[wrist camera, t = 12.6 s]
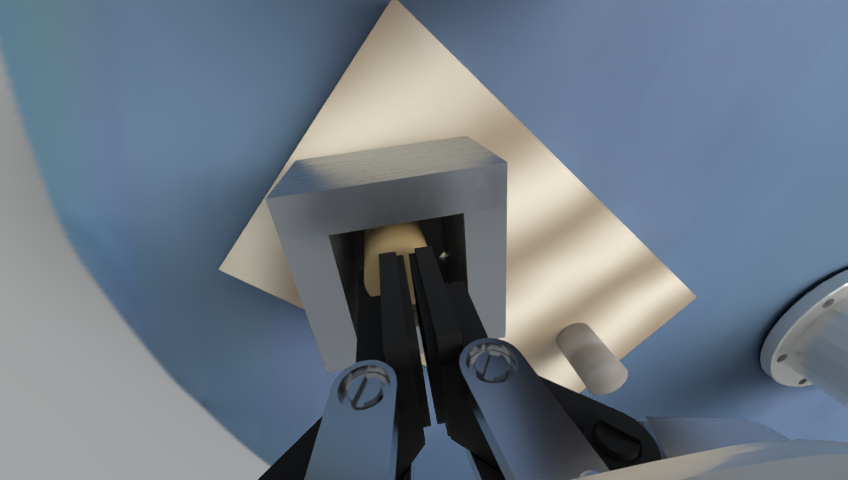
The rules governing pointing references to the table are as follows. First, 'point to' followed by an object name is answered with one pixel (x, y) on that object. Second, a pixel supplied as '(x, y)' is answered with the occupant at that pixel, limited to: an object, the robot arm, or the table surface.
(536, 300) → the stand board
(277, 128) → the table surface
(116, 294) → the table surface
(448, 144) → the collar
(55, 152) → the table surface
